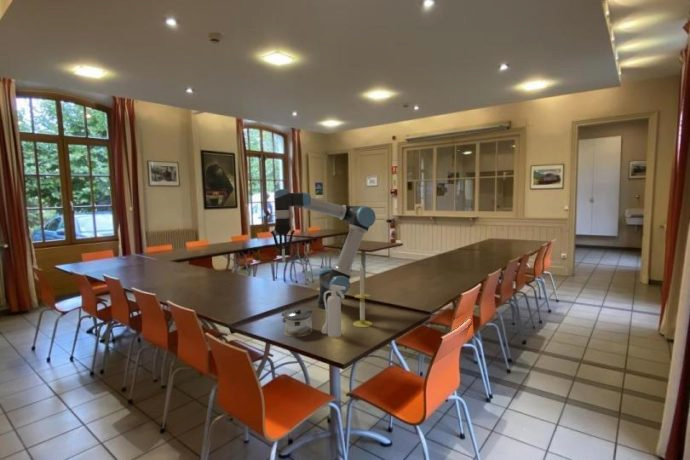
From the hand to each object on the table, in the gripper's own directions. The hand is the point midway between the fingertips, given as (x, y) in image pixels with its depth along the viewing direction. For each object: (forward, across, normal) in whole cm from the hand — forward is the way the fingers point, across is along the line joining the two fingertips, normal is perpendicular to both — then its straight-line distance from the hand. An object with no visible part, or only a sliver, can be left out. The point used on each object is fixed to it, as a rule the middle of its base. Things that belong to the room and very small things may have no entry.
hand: (283, 261), depth 196 cm
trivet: (+32, -8, +21) cm, 39 cm away
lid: (+24, -8, +21) cm, 32 cm away
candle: (+33, -41, +14) cm, 54 cm away
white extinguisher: (+33, -25, +28) cm, 50 cm away
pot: (+32, -8, +21) cm, 39 cm away
